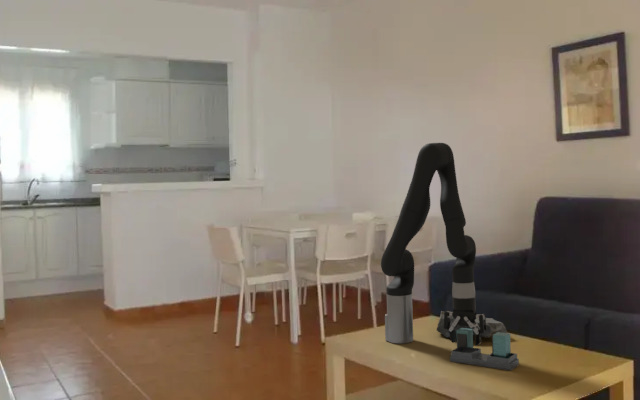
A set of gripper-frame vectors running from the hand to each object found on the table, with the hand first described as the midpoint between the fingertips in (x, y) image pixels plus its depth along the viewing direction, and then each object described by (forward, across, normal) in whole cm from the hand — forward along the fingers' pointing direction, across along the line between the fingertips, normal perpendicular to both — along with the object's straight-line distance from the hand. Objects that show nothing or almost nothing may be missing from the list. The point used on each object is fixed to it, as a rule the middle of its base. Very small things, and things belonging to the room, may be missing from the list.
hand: (465, 343), depth 226 cm
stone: (+4, -9, +24) cm, 26 cm away
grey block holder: (+4, +10, -8) cm, 13 cm away
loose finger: (+3, 0, 0) cm, 3 cm away
